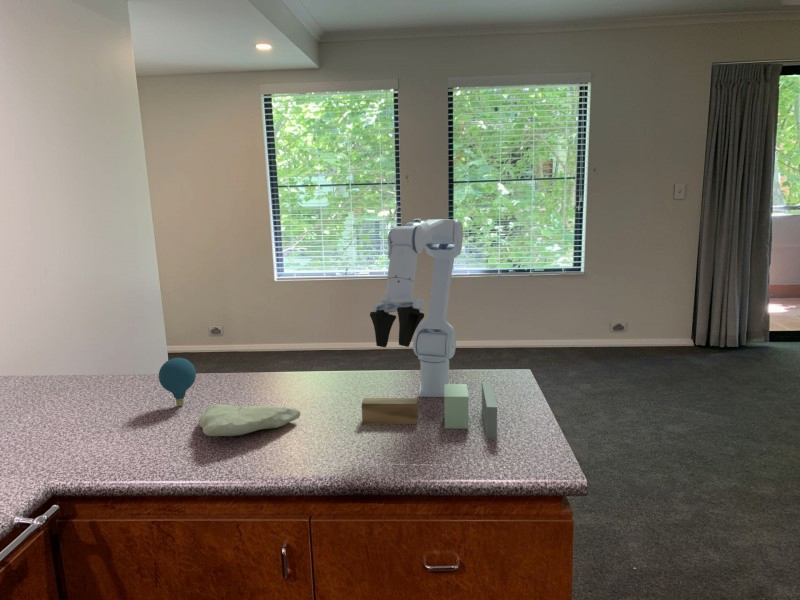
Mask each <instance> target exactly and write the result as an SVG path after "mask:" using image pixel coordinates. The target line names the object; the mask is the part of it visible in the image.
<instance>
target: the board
mask: <svg viewBox="0 0 800 600" xmlns="http://www.w3.org/2000/svg"><path fill="white" fill-rule="evenodd" d="M481 413H482V418H483V425H484V431H485V436H486V440H498V405H497V402H496V396H495V393H494V390H493V385H492V381H489V380H487V381H484V380H482V381H481Z"/></svg>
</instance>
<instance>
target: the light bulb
mask: <svg viewBox="0 0 800 600" xmlns="http://www.w3.org/2000/svg"><path fill="white" fill-rule="evenodd" d="M196 377H197V371H196V368H195V366H194V364H193V363H192V362H191V361H190V360H188V359H186V358H183V357H174V358H171V359H168V360H167V361H165V362H164V363H163V364H162V365H161V367H160V368H159V371H158V382H159V383H160V385H161V387H163V389H165V390H166V391H168V392H170V393H171V394H172V395H173V398H175V403H176V405H177V406H179V407H181V406H183V405H184V404H185V397H186V392H187V391H188V390H189V389H190V388H191V387H192V386H193V384H194V382H196Z"/></svg>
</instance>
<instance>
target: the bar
mask: <svg viewBox="0 0 800 600" xmlns="http://www.w3.org/2000/svg"><path fill="white" fill-rule="evenodd" d="M418 405H419V403H418V398H417V397H364V398H363V399H362V401H361V416H362V417H361V418H362V419H361V420H362V421H361V422H362V425H366V424H374V425H375V424H379V425H380V424H381V425H382V424H387V425H388V424H389V425H393V424H394V425H396V424H397V425H417V424H418V420H419V416H418V411H419V410H418V407H419V406H418Z"/></svg>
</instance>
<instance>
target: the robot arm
mask: <svg viewBox="0 0 800 600" xmlns="http://www.w3.org/2000/svg"><path fill="white" fill-rule="evenodd" d="M463 239H464V229H463V223H462V222H461V220H460V219H423V220H422V219H421V218H414V219H413V220H412V222H406V224H405V225H404V226H403V225H402V226H401V225H399V226H394V227H393V228H391V229H390V231H389V233H388V234H387V246H388V247H387V248H388V250H387V251H388V252H387V258H388V259H389V261H388V271H387V279H386V286H385V293H384V297H380V299H379V302H376V303H373V309H372V311H371V312H370V311H369V312H370V313H369V317H370V319H371V322H372V324H373V329H374V335H375V336H374V337H375V344H376V347H381V348H387V346H388V343H389V338H390V332H391V330H392V326H393V325H394V322H395V320H396V319H397V316H398V328H399V330H398V346H403V347H407V348H409V347H410V344H412V350H413V353H414V355H415V356H417V359H418V360H420V361H419V362H420V383H419V390H418V397H421V398H426V397H427V398H444V384H451V383H450V359H452V358H453V357H454V355H455V353H456V348H457V340H456V336H457V335H456V334H457V332H456V330H455V327H454V326H453V325H451V324H450V323H449V322H448V321H447V317H448V307H449V302H450V301H449V300H450V291H451V283H452V274H453V267H454V262H455V259H456V257H458V256H459V255H461V251H462V247H463V241H464V240H463ZM423 249H424V250H425V252H426V254H427V255H428V256H429V257H432V258H433V259H434V264H433V273H432V280H431V287H430V288H431V289H430V295H429V304H428V309H427V310H428V311H427V318H426V319H425V320H423V319H424V318H425V313H424V312H421V311H423V310H424V307H425V300H424V299H421V298H418V297H415V298H414V297H413V296H414V290H415V281H416V272H417V265H418V256H419V255H418V254H421V253H423ZM394 312H397V315H395V314H394V315H393V314H391V313H394ZM422 320H423V321H422ZM412 339H413V340H412ZM411 342H412V343H411Z"/></svg>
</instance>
